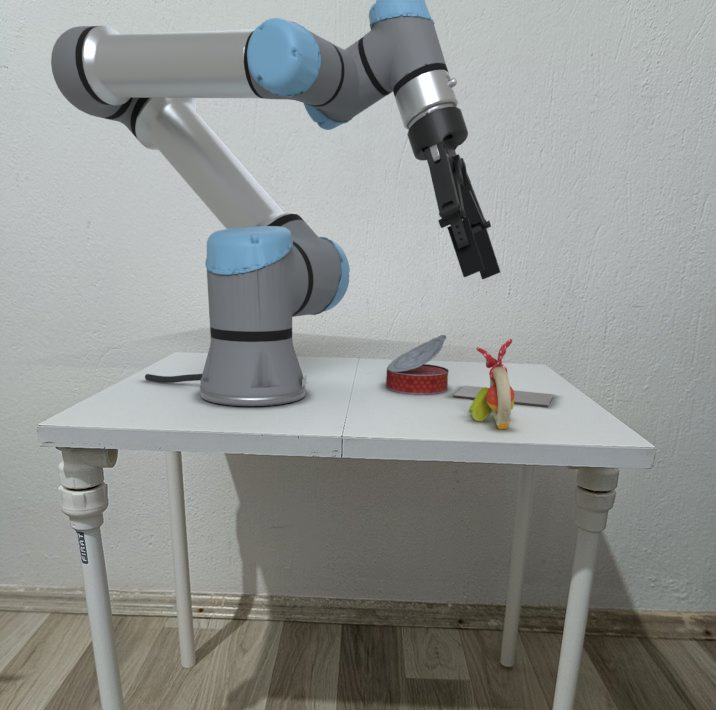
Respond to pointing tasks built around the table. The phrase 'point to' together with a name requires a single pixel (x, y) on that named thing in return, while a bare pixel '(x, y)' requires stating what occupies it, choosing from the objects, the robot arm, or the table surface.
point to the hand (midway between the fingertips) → (483, 275)
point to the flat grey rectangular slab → (519, 396)
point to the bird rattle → (495, 391)
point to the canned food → (418, 370)
